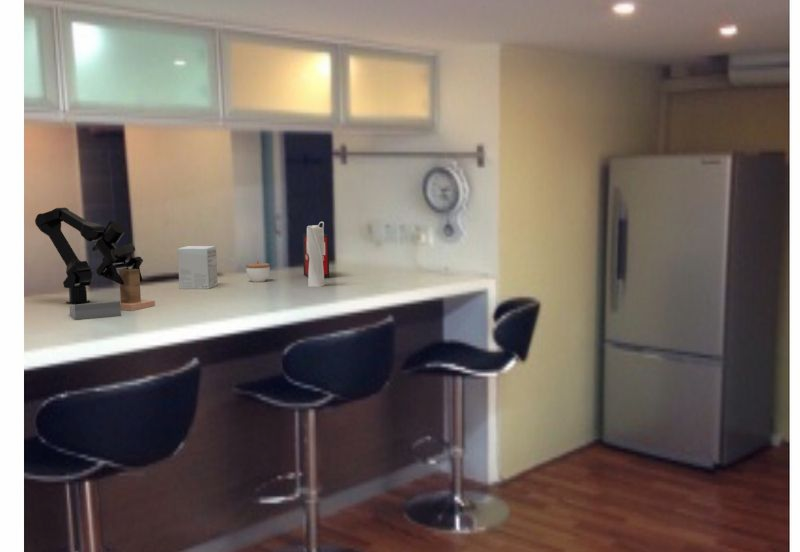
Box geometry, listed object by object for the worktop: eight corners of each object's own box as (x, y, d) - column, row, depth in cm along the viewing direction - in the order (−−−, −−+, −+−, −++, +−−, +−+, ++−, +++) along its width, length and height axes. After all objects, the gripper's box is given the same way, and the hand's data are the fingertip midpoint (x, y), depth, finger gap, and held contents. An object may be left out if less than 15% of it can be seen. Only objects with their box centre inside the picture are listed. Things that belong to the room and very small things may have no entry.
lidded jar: (263, 283, 372) (262, 262, 371) (242, 282, 376) (241, 261, 374) (274, 280, 382) (273, 259, 381) (253, 279, 386) (253, 259, 384)
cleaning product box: (329, 278, 387) (328, 235, 385) (310, 279, 384) (309, 236, 382) (321, 274, 403) (321, 233, 400) (303, 275, 400) (302, 233, 398)
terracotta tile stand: (107, 308, 306) (106, 303, 305) (131, 303, 316) (130, 298, 316) (131, 310, 300) (131, 305, 300) (154, 305, 311) (154, 300, 311)
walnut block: (120, 302, 307) (119, 270, 305) (130, 300, 311) (129, 268, 310) (130, 303, 305) (129, 270, 303) (140, 301, 309) (139, 269, 307)
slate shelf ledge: (69, 314, 293) (69, 300, 292) (113, 310, 300) (113, 297, 300) (75, 319, 283) (74, 305, 282) (120, 315, 290) (120, 301, 289)
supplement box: (218, 284, 368) (217, 245, 365) (208, 289, 355) (207, 248, 352) (189, 284, 369) (187, 245, 367) (178, 289, 356) (176, 248, 354)
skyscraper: (328, 285, 363) (327, 221, 360) (322, 287, 356) (321, 222, 352) (311, 284, 365) (310, 221, 362) (305, 287, 358) (303, 222, 355)
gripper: (100, 239, 298) (124, 270, 295) (138, 235, 315) (161, 265, 311) (85, 259, 303) (109, 291, 299) (123, 255, 319) (146, 285, 316)
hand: (132, 282), depth 306 cm, fingers open, 9 cm apart
